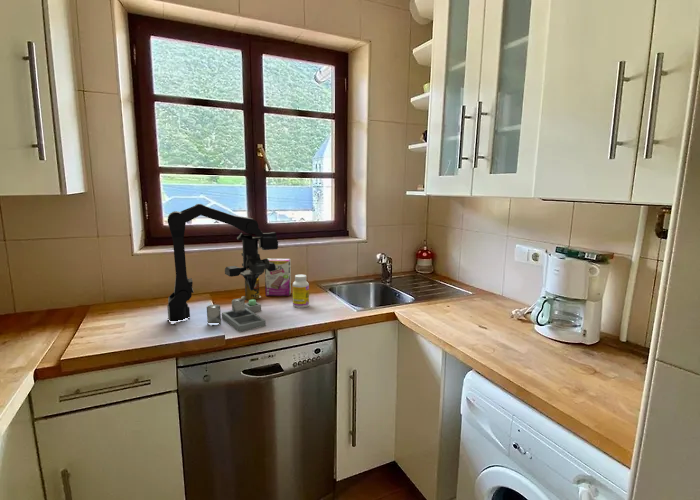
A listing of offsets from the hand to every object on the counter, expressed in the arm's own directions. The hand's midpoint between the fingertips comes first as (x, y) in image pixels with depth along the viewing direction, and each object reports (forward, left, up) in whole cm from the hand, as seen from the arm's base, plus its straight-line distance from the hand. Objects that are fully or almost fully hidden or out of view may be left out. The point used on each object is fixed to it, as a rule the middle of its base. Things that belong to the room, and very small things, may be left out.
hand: (251, 290), depth 149 cm
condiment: (+6, +16, -9) cm, 19 cm away
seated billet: (-8, -6, -8) cm, 13 cm away
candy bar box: (+19, +15, -9) cm, 26 cm away
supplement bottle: (+19, -5, -9) cm, 22 cm away
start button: (0, 0, -7) cm, 7 cm away
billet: (-17, -6, -9) cm, 20 cm away
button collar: (0, 0, -9) cm, 9 cm away
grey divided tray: (-8, -10, -9) cm, 15 cm away
